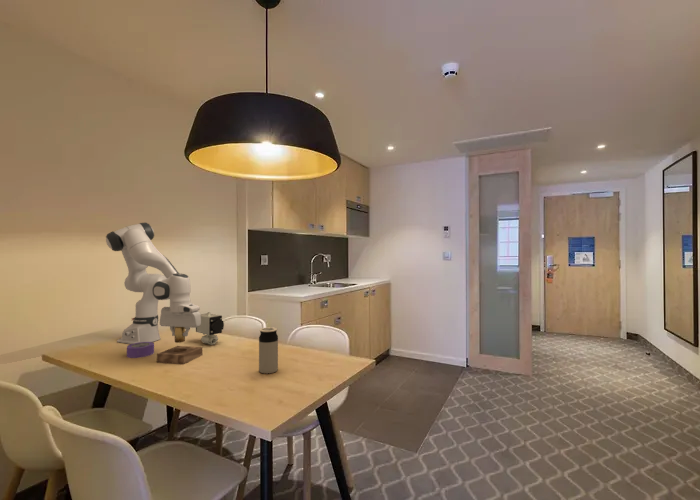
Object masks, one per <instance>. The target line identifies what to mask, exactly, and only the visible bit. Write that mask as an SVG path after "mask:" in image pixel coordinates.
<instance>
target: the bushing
mask: <svg viewBox="0 0 700 500" xmlns="http://www.w3.org/2000/svg"><path fill="white" fill-rule="evenodd" d="M185 330H186V329H185V327H175V336H174V343H176V344H178V343H184V342H185V341H186V337H185V336H183V333H184V332H185Z"/></svg>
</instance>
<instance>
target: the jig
mask: <svg viewBox="0 0 700 500" xmlns="http://www.w3.org/2000/svg"><path fill="white" fill-rule="evenodd" d="M202 356H203V347H202V346H192V345H190V346H187V345H176V346H173V347H171V348H168V349H166V350H164V351H161V352H159V353H156V363H159V364H160V363H162V364H176V365H185V364H187V363H189V362H191V361H194V360H195V359H197V358H199V357H202Z"/></svg>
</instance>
